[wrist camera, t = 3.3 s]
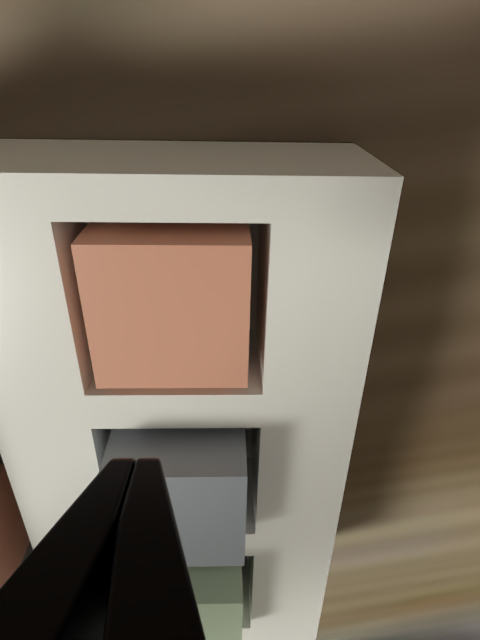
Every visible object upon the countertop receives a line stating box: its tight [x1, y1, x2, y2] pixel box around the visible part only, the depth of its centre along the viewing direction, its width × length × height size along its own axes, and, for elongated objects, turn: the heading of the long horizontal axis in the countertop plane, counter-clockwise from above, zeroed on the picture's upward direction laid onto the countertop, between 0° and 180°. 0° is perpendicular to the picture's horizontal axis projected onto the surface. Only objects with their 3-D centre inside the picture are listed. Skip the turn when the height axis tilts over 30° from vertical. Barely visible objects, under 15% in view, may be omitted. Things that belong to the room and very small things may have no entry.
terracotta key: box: [71, 222, 252, 389], centre depth 15 cm, size 5×5×4 cm
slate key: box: [98, 428, 248, 567], centre depth 17 cm, size 5×5×4 cm
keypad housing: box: [0, 139, 404, 640], centre depth 18 cm, size 22×15×7 cm
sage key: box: [188, 566, 243, 640], centre depth 20 cm, size 5×5×4 cm
